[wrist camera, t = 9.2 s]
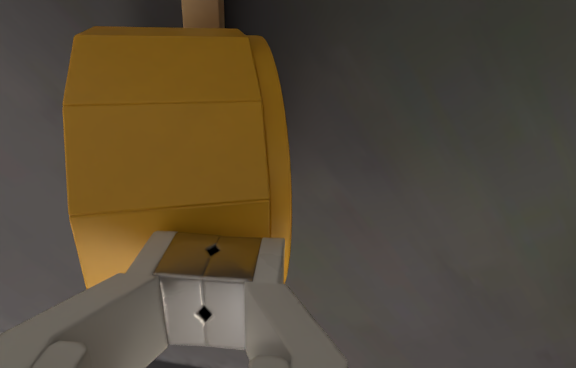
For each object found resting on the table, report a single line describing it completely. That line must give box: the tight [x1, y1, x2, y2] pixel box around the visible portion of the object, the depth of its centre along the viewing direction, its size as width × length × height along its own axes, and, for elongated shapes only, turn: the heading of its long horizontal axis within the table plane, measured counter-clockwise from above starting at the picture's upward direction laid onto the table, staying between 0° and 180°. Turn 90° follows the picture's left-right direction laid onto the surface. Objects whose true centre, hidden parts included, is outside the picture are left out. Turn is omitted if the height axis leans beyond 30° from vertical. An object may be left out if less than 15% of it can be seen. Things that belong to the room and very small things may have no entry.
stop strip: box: [181, 0, 225, 28], centre depth 18 cm, size 2×16×1 cm, turn 178°
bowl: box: [62, 26, 292, 289], centre depth 13 cm, size 9×9×5 cm
